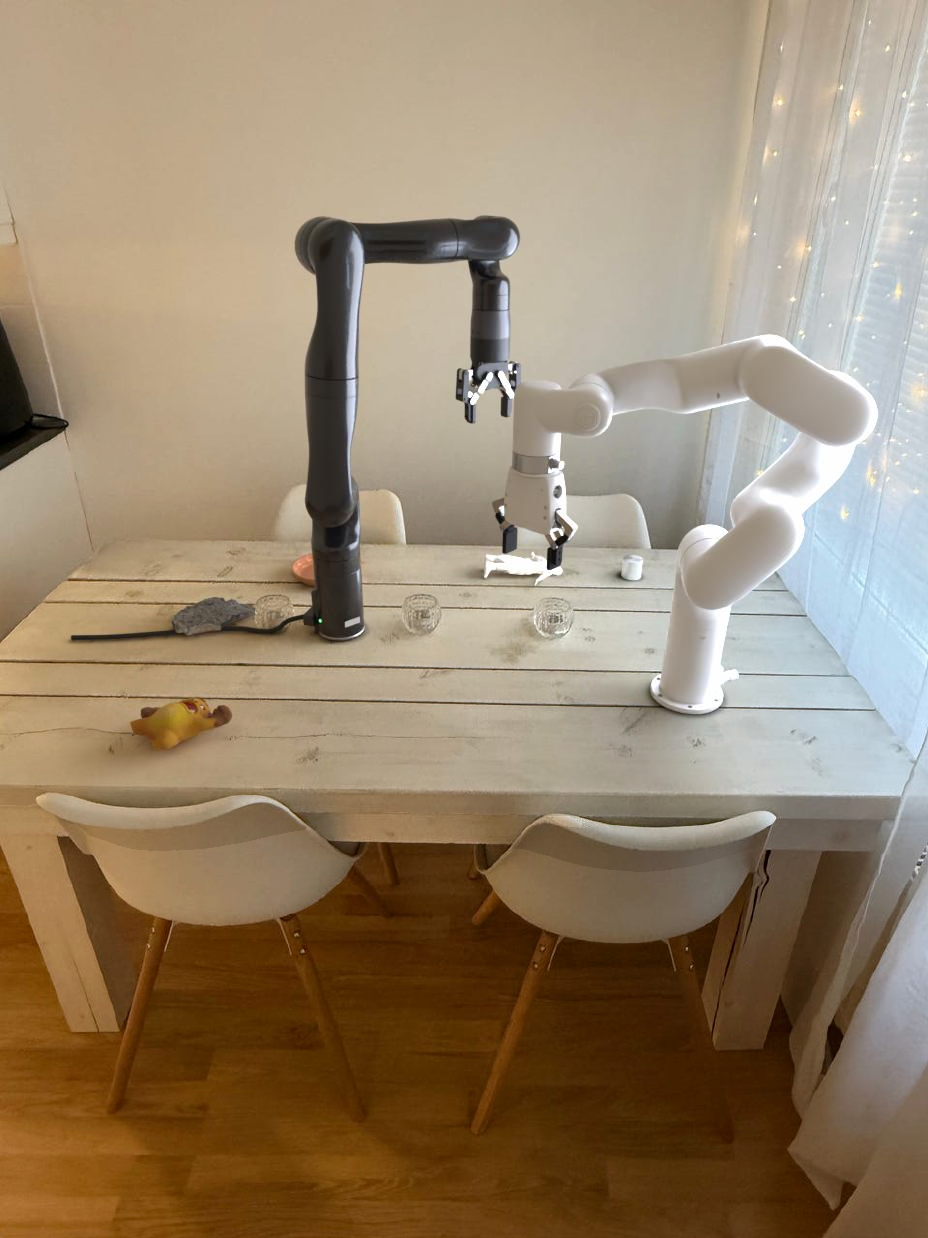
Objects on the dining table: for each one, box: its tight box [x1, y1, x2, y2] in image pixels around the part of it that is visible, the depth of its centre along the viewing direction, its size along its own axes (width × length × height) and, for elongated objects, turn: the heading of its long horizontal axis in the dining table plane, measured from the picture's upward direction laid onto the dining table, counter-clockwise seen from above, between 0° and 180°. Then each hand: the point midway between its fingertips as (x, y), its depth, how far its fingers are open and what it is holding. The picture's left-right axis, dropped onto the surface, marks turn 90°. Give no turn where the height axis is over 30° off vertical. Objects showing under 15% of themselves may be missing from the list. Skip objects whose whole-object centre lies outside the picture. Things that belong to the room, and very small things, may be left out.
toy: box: [129, 697, 233, 751], centre depth 133 cm, size 11×6×15 cm
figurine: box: [483, 551, 563, 586], centre depth 188 cm, size 17×5×18 cm
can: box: [620, 554, 644, 581], centre depth 188 cm, size 4×4×4 cm
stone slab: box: [170, 596, 256, 637], centre depth 168 cm, size 12×17×3 cm
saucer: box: [290, 552, 362, 588], centre depth 186 cm, size 16×16×3 cm
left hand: (488, 419), depth 161 cm, fingers open, 8 cm apart
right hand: (531, 559), depth 138 cm, fingers open, 9 cm apart
